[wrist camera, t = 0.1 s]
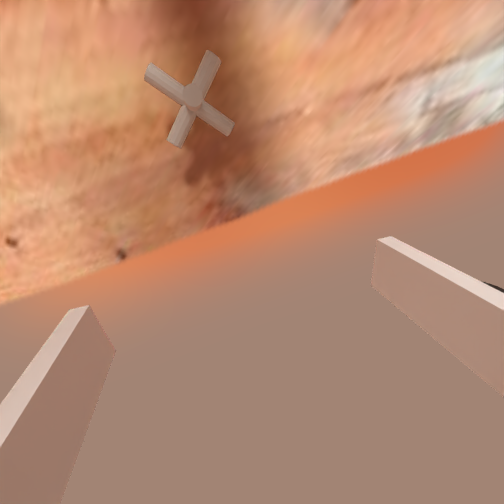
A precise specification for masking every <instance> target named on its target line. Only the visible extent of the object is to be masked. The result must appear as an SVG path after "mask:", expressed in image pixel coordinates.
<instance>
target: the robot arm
mask: <svg viewBox="0 0 504 504" xmlns="http://www.w3.org/2000/svg"><path fill="white" fill-rule="evenodd" d="M371 286H372V287H373V288H374V289H375V290H377V291H378V292H379V293H380V294H381V295H383V296H384V297H385V298H386V299H387V300H389V301H390V302H391V303H392V304H393V305H394V306H396V307H397V308H398V309H399V310H400V311H402V312H403V313H404V314H405V315H406V316H408V317H409V318H410V319H411V320H412V321H414V322H415V323H416V324H417V325H418V326H419V327H421V328H422V329H423V330H424V331H425V332H427V333H428V334H429V335H430V336H431V337H433V338H434V339H435V340H436V341H437V342H439V343H440V344H441V345H442V346H443V347H445V348H446V349H447V350H448V351H449V352H450V353H452V354H453V355H454V356H455V357H457V358H458V359H459V360H460V361H461V362H462V363H463V364H465V365H466V366H467V367H468V368H470V369H471V370H472V371H473V372H474V373H475V374H477V375H478V376H479V377H480V378H481V379H483V380H484V381H485V382H486V383H487V384H489V385H490V386H491V387H492V388H493V389H494V390H496V391H497V392H498V393H499V394H500V395H502V396H503V397H504V289H502V288H500V287H498V286H494V285H491V284H488V283H485V282H482V281H479V280H477V279H475V278H473V277H471V276H469V275H467V274H465V273H463V272H461V271H459V270H457V269H455V268H453V267H451V266H449V265H447V264H445V263H443V262H441V261H439V260H437V259H435V258H433V257H431V256H429V255H427V254H425V253H423V252H421V251H419V250H417V249H415V248H413V247H411V246H409V245H407V244H405V243H403V242H401V241H399V240H397V239H395V238H393V237H391V236H390V237H386V238H381V239H378V240H377V244H376V251H375V258H374V266H373V273H372V280H371ZM115 352H116V350H115V348H114V347H113V345H112V343H111V342H110V340H109V338H108V336H107V335H106V333H105V331H104V330H103V328H102V326H101V324H100V323H99V321H98V319H97V318H96V316H95V314H94V312H93V311H92V309H91V307H90V306H89V305H87V306H83V307H78V308H74V309H70V310H68V312H67V313H66V315H65V316H64V317H63V319H62V320H61V321H60V323H59V324H58V326H57V327H56V328H55V330H54V331H53V333H52V334H51V335H50V337H49V338H48V339H47V341H46V342H45V344H44V345H43V346H42V348H41V349H40V350H39V352H38V353H37V355H36V356H35V357H34V359H33V360H32V361H31V363H30V364H29V366H28V367H27V369H26V370H25V371H24V373H23V374H22V375H21V377H20V378H19V380H18V381H17V382H16V384H15V385H14V386H13V388H12V389H11V390H10V392H9V393H8V395H7V396H6V397H5V399H4V400H3V401H2V403H1V404H0V504H60V503H61V500H62V497H63V495H64V492H65V489H66V486H67V483H68V481H69V478H70V476H71V473H72V470H73V467H74V464H75V462H76V459H77V456H78V454H79V451H80V448H81V445H82V443H83V440H84V437H85V435H86V432H87V429H88V426H89V424H90V420H91V418H92V415H93V413H94V410H95V407H96V404H97V402H98V399H99V396H100V393H101V391H102V388H103V385H104V382H105V380H106V377H107V374H108V371H109V369H110V366H111V363H112V361H113V358H114V355H115Z"/></svg>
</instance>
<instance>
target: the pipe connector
mask: <svg viewBox="0 0 504 504" xmlns="http://www.w3.org/2000/svg"><path fill="white" fill-rule="evenodd" d="M220 65H221V60H220V59H219V57H218V56H216V55H215V54H214V53H213V52H211V51H210V50H206V52H205V54H204V56H203V59H202V61H201V63H200V65H199V68H198V70H197V72H196V74H195V77H194V79H193V81H192V83H191V84H188V85H186V86H183V85H182V84H181V83H179V82H178V81H176V80H175V79H174V78H172V77H171V76H169V75H168V74H167V73H165V72H164V71H162V70H161V69H160V68H158V67H157V66H156V65H154V64H153V63H150V64H149V65H148V67H147V69H146V73H145V77H144V80H145V81H146V82H147V83H149V84H150V85H152V86H153V87H155V88H156V89H158V90H159V91H161V92H162V93H164V94H165V95H167V96H168V97H169V98H171V99H172V100H174V101H175V102H177V103H178V104H180V105H181V108H180V110H179V113H178V115H177V117H176V119H175V122H174V124H173V126H172V128H171V131H170V133H169V135H168V137H167V141H169V142H170V143H172V144H173V145H175V146H177V147H179V148H182V146H183V144H184V142H185V140H186V137H187V135H188V133H189V131H190V129H191V127H192V125H193V122H194V120H195V118H196V116H197V117H199V118H200V119H202V120H203V121H205V122H206V123H208V124H209V125H211V126H212V127H214V128H215V129H217V130H218V131H219V132H221V133H222V134H224V135H225V136H227V137H228V136H229V134H230V133H231V131H232V129H233V127H234V125H235V122H233V121H232V120H231V119H229V118H228V117H226V116H225V115H224V114H222V113H221V112H220V111H218V110H217V109H215V108H214V107H213V106H211V105H210V104H208V103H207V102H206V101H204V99H205V97H206V95H207V92H208V90H209V88H210V86H211V84H212V82H213V80H214V77H215V75H216V73H217V71H218V69H219V67H220Z"/></svg>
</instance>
